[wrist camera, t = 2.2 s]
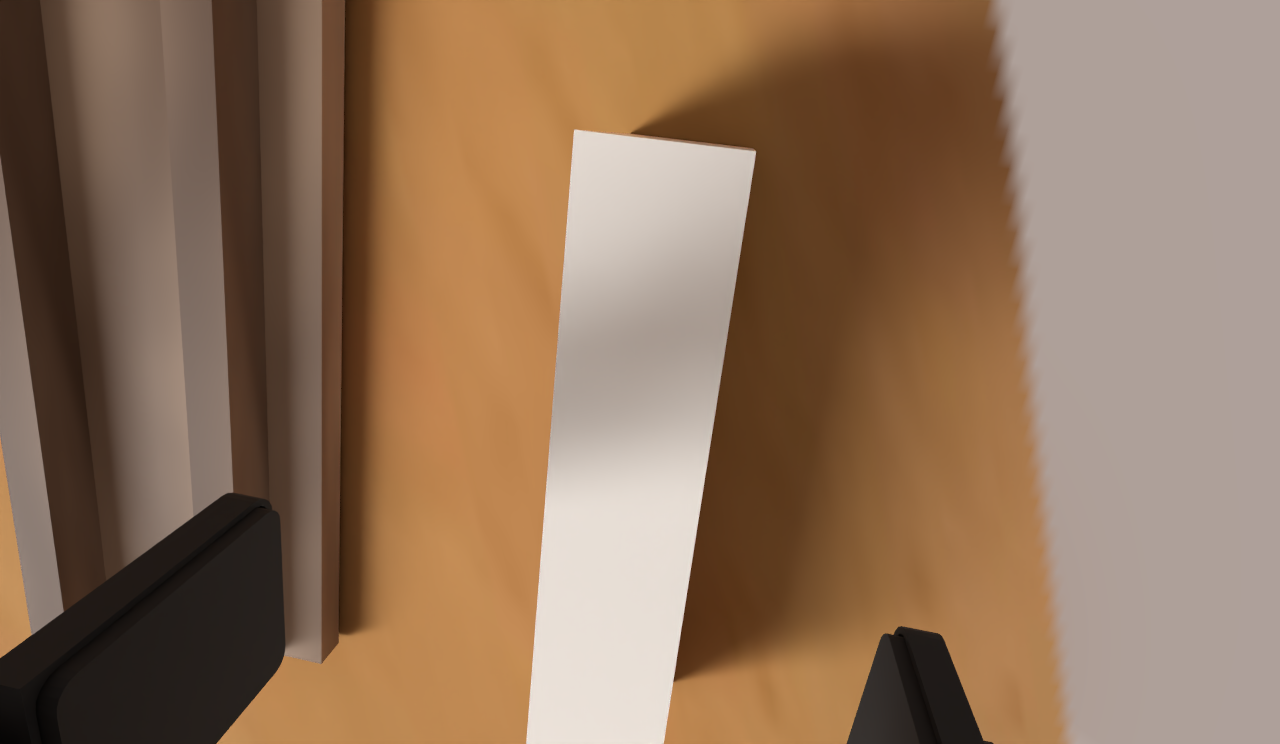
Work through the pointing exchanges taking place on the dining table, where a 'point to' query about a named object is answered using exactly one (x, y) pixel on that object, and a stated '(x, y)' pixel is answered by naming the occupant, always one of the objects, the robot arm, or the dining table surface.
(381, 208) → the dining table surface
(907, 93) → the dining table surface
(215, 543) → the robot arm
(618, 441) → the white strip
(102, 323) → the walnut rack
